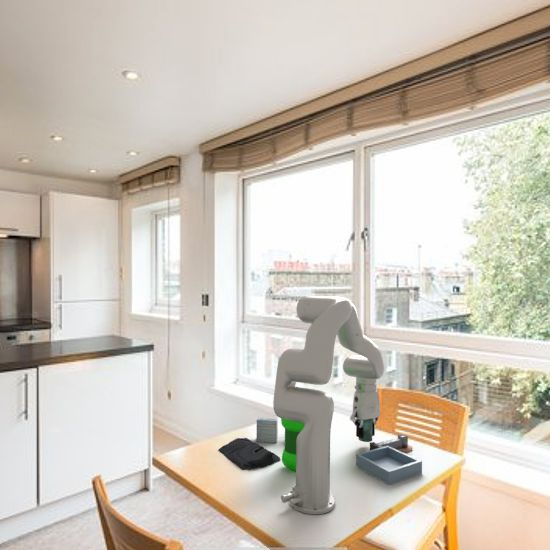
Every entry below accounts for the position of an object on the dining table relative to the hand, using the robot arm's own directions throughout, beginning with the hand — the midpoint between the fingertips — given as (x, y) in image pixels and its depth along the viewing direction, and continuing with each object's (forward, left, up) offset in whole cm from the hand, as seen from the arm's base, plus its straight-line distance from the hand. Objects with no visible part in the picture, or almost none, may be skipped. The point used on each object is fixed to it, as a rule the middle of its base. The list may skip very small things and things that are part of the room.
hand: (365, 435), depth 159 cm
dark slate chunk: (-41, +16, -5) cm, 44 cm away
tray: (-7, -18, -5) cm, 19 cm away
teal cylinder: (0, 0, -2) cm, 2 cm away
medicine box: (-29, +24, -5) cm, 38 cm away
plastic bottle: (-33, -2, -5) cm, 33 cm away
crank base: (+11, -8, -5) cm, 15 cm away
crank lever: (+5, -8, -4) cm, 10 cm away
